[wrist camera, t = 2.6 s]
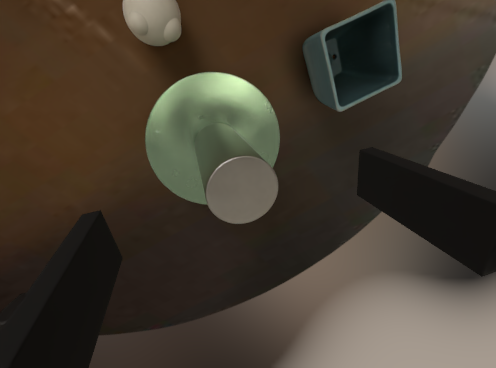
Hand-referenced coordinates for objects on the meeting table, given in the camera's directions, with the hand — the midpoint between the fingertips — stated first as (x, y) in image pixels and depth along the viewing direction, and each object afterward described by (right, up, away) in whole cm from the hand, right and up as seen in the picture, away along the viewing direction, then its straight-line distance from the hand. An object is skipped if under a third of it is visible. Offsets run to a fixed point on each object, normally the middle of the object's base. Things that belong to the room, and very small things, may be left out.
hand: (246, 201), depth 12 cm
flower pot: (+11, +18, +22) cm, 31 cm away
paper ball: (-10, +18, +13) cm, 24 cm away
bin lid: (-3, +5, +10) cm, 11 cm away
